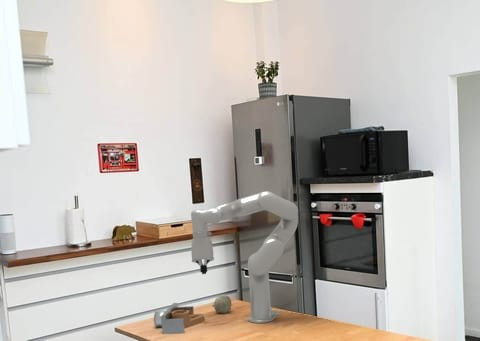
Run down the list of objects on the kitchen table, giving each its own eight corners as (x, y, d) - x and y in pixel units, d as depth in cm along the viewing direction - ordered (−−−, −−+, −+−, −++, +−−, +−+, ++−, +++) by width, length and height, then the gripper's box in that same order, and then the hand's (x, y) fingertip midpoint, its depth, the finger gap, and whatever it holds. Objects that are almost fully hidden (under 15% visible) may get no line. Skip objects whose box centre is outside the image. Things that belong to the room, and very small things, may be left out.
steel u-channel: (194, 318, 239) (193, 302, 240) (183, 332, 216) (182, 314, 216) (162, 319, 241) (161, 303, 241) (149, 334, 217) (148, 316, 217)
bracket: (180, 330, 221) (179, 315, 221) (168, 327, 226) (167, 313, 226) (208, 320, 234) (207, 306, 235) (196, 318, 240) (195, 304, 240)
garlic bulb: (231, 316, 249) (236, 297, 249) (223, 317, 241) (229, 298, 242) (216, 309, 253) (221, 291, 253) (208, 310, 245) (214, 291, 246)
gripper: (217, 233, 234) (220, 271, 234) (186, 236, 235) (190, 273, 235) (215, 234, 227) (218, 273, 226) (184, 237, 228) (187, 276, 227)
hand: (204, 273), depth 230 cm, fingers closed
